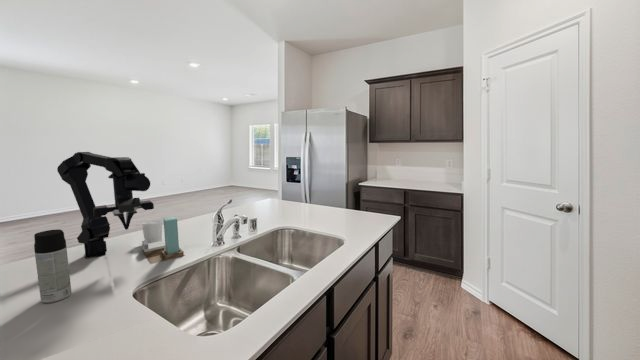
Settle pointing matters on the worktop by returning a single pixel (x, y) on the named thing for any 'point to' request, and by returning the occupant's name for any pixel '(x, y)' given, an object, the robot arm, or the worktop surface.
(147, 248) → the lid
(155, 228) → the white cup
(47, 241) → the spray can
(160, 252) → the board
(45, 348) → the worktop surface
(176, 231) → the block
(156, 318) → the worktop surface
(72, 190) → the robot arm
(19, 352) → the worktop surface
